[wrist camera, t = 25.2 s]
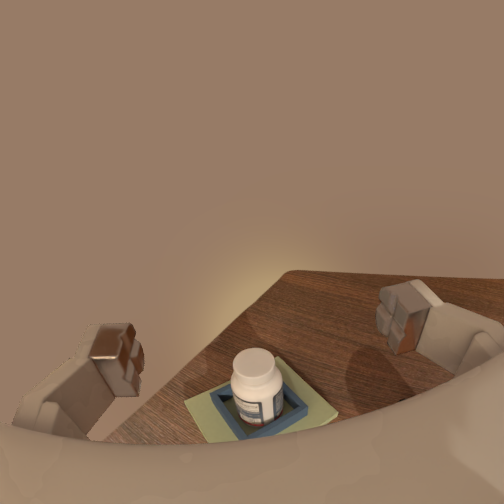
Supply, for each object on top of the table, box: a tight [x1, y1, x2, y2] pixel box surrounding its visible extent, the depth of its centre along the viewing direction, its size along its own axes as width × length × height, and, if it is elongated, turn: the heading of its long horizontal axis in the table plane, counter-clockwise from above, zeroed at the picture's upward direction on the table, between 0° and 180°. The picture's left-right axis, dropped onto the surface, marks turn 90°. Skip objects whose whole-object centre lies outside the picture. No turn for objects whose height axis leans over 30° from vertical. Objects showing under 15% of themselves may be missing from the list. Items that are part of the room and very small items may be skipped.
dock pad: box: [184, 356, 338, 443], centre depth 30 cm, size 14×12×3 cm
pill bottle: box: [231, 348, 283, 428], centre depth 28 cm, size 5×5×9 cm
